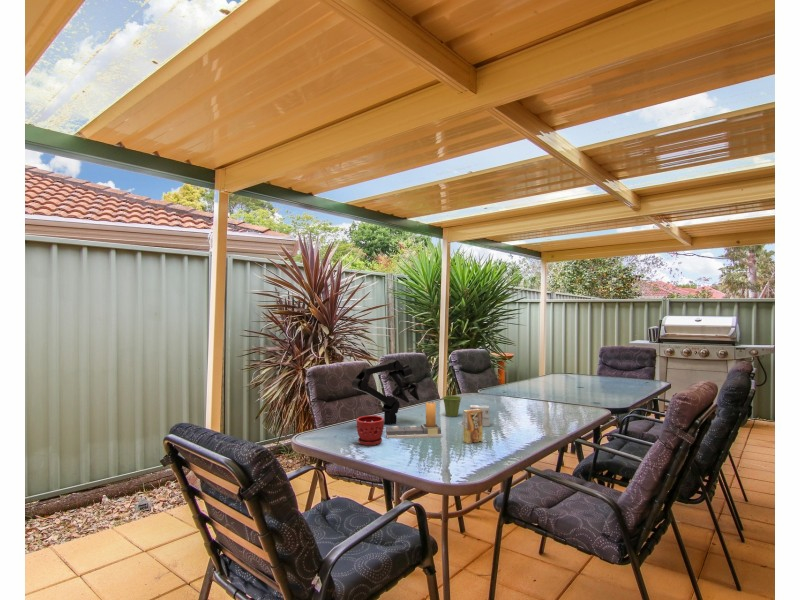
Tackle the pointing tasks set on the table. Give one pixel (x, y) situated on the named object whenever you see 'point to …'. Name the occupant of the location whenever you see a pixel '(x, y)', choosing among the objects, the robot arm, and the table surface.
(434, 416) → the cap
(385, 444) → the table surface
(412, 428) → the breaker panel
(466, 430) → the candy box
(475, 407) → the light bulb box
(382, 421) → the plant pot
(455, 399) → the plant pot
